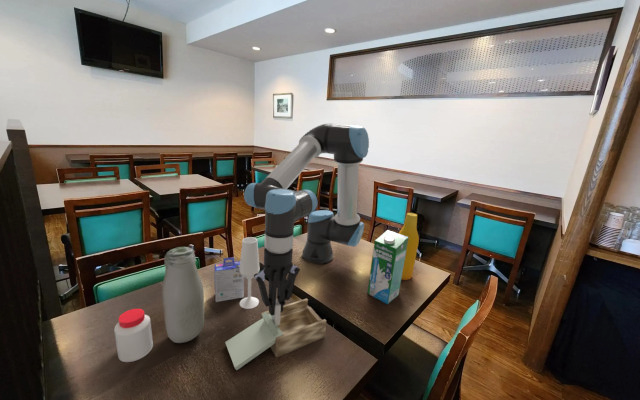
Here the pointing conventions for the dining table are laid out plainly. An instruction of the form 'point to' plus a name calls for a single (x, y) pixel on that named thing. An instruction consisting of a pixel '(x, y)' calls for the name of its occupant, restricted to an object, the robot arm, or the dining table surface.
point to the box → (297, 327)
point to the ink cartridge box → (228, 281)
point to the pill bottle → (133, 335)
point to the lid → (253, 341)
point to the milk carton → (387, 266)
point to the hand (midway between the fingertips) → (275, 322)
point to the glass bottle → (182, 295)
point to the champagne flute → (249, 268)
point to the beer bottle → (410, 244)
